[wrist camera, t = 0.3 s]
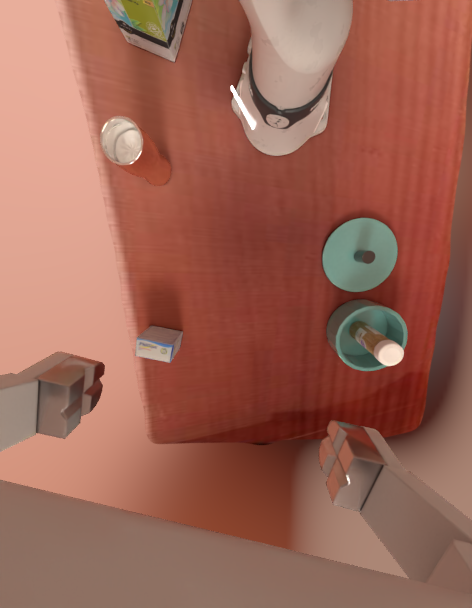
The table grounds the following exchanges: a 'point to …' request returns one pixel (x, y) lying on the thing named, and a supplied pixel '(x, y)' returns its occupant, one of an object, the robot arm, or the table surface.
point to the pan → (373, 317)
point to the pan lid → (359, 254)
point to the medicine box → (158, 343)
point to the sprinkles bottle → (377, 343)
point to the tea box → (152, 23)
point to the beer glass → (134, 150)
